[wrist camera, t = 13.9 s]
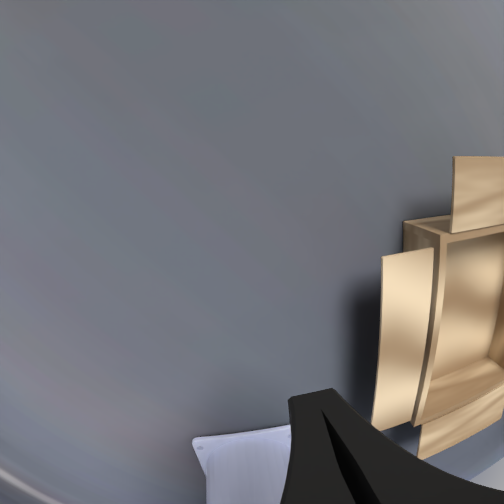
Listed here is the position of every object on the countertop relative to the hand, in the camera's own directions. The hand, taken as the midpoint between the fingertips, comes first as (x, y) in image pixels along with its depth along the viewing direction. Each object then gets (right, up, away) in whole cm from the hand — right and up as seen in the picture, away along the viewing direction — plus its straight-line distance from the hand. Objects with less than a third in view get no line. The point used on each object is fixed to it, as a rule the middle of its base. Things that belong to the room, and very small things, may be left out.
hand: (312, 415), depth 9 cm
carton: (+14, +1, +12) cm, 18 cm away
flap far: (+15, -7, +10) cm, 19 cm away
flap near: (+13, +6, +6) cm, 16 cm away
